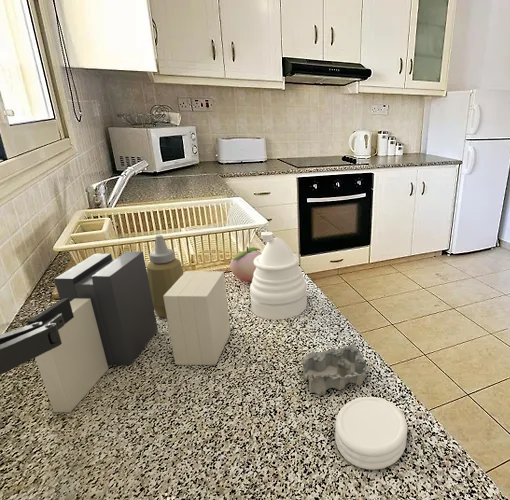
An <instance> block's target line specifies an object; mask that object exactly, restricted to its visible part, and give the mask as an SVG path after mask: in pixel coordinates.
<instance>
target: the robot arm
mask: <svg viewBox="0 0 510 500" xmlns="http://www.w3.org/2000/svg"><path fill="white" fill-rule="evenodd" d="M72 318H74V315H73V312H72V308H71V304H70V301H69V298H65V299H61V300H60V299H59V300H58V301H57V302H55V303H53V304H52V305H50V306H49V307H47V308H46V309H45V310H43V311H41V312H39V313H38V314H37V315H35V316H34V317H32V318H30V319H29V320H27V321H26V323H27V325H25V326H22V327H19V328H15V329H13V330H9V331H7V332H5V333H1V334H0V376H1V375H3V374H5V373H7V372H9V371H11V370H13V369H15V368H17V367H19V366H21V365H24V364H26V363H27V362H29V361H32V360H34V359H35V357H37V356H39V355H41V354H43V353H45V352H47V351H49V350H51V349H53V348H56V347H58V346H59V345H61V344H62V342H61V338H60V335H59V331H58V330H59V329H60V328H62V327H63V326H64V325H65V324H66V323H67V322H68V321H70V320H71V319H72Z"/></svg>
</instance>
